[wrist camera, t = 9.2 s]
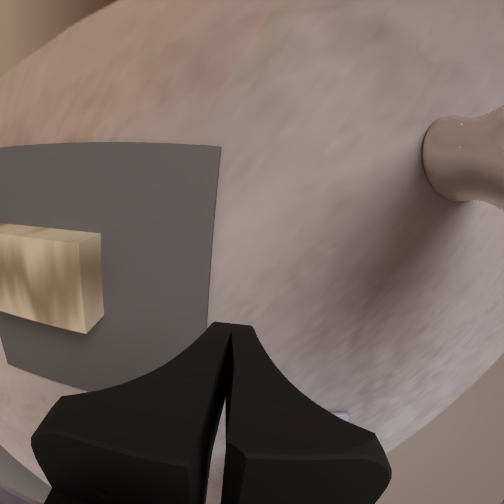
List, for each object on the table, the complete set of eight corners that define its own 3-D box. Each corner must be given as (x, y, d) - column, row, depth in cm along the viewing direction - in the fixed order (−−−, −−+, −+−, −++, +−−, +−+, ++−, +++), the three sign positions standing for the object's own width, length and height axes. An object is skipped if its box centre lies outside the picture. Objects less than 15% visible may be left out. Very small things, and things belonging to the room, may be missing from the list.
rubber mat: (203, 411, 24) (202, 414, 23) (10, 361, 24) (8, 363, 23) (221, 147, 19) (220, 146, 18) (-13, 149, 18) (-16, 149, 18)
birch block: (86, 333, 18) (-14, 306, 18) (104, 314, 21) (7, 293, 21) (79, 243, 17) (-24, 230, 17) (100, 233, 20) (0, 223, 20)
